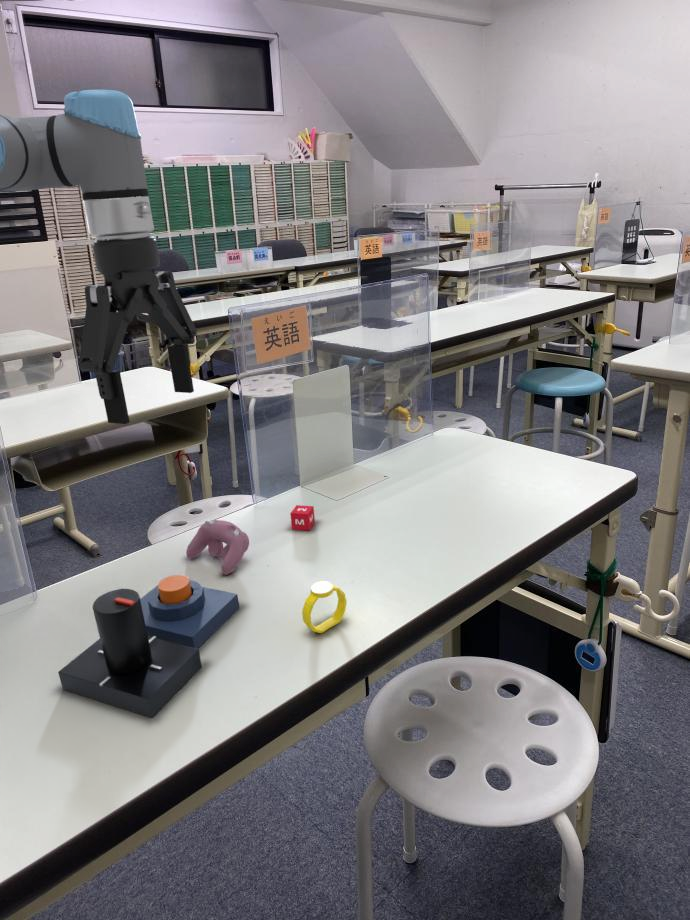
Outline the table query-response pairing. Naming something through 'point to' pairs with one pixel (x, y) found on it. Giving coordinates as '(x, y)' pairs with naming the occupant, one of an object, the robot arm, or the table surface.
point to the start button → (174, 589)
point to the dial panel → (133, 677)
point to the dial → (122, 630)
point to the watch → (322, 591)
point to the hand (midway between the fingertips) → (153, 406)
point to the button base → (188, 615)
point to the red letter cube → (302, 517)
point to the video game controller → (220, 543)
